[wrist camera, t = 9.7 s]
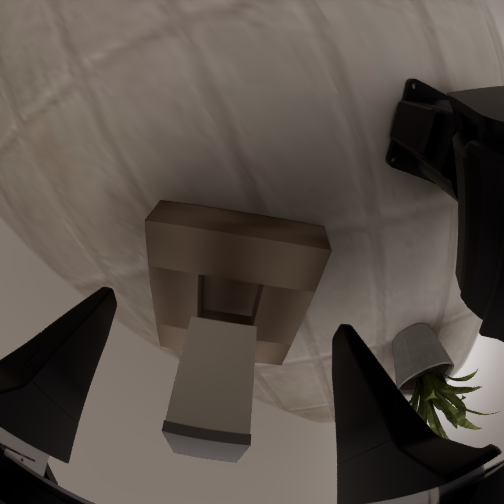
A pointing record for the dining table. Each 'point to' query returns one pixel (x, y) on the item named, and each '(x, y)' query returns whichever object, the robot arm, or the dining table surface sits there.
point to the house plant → (429, 377)
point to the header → (232, 272)
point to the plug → (213, 391)
